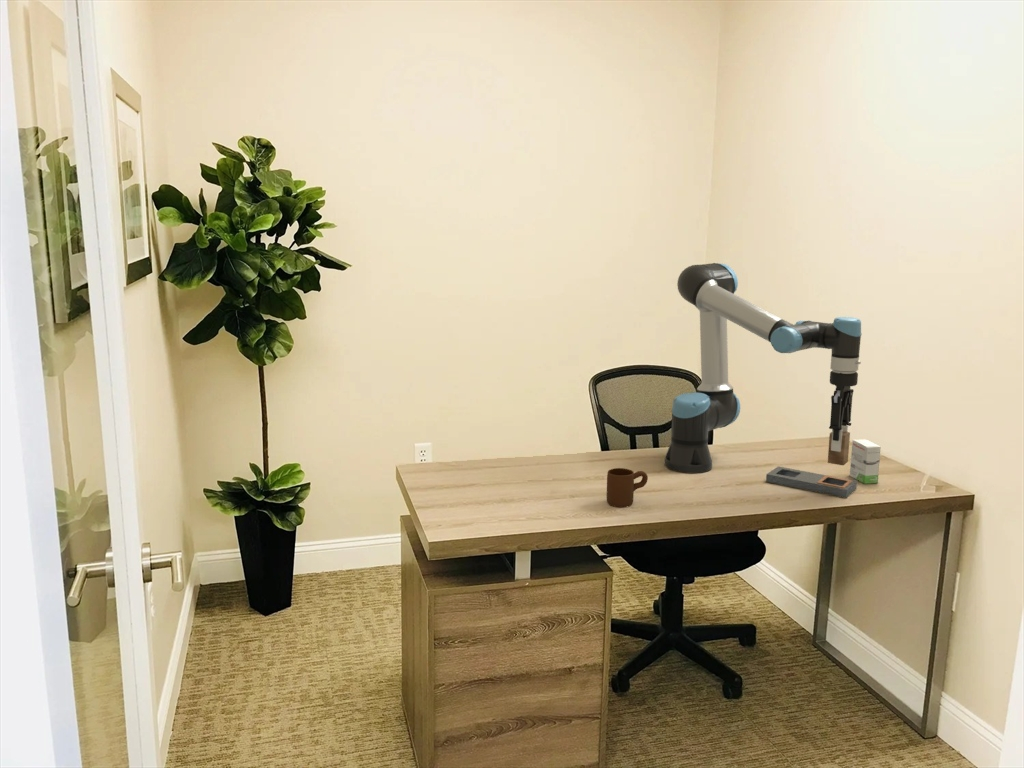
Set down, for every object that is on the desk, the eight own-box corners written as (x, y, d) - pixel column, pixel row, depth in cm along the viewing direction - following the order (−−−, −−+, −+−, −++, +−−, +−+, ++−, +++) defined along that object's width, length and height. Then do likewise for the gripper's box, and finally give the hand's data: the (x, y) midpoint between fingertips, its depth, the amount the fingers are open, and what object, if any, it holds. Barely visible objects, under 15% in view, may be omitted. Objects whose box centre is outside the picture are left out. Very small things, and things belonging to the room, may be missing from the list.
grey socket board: (765, 481, 261) (766, 473, 261) (777, 473, 269) (778, 465, 268) (846, 498, 247) (847, 489, 246) (856, 489, 255) (857, 480, 254)
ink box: (878, 483, 260) (882, 446, 258) (863, 484, 259) (866, 446, 257) (863, 474, 268) (866, 438, 266) (848, 475, 268) (851, 439, 265)
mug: (641, 496, 248) (642, 465, 246) (651, 505, 241) (653, 473, 239) (602, 500, 245) (603, 468, 243) (611, 509, 238) (612, 476, 236)
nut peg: (827, 462, 251) (829, 433, 249) (832, 459, 255) (834, 430, 253) (843, 465, 249) (845, 435, 247) (847, 461, 252) (850, 432, 250)
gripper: (848, 377, 237) (842, 457, 242) (866, 367, 251) (860, 444, 255) (821, 374, 242) (816, 453, 246) (840, 365, 255) (834, 440, 260)
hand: (838, 448), depth 251 cm, fingers closed on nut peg, 4 cm apart
